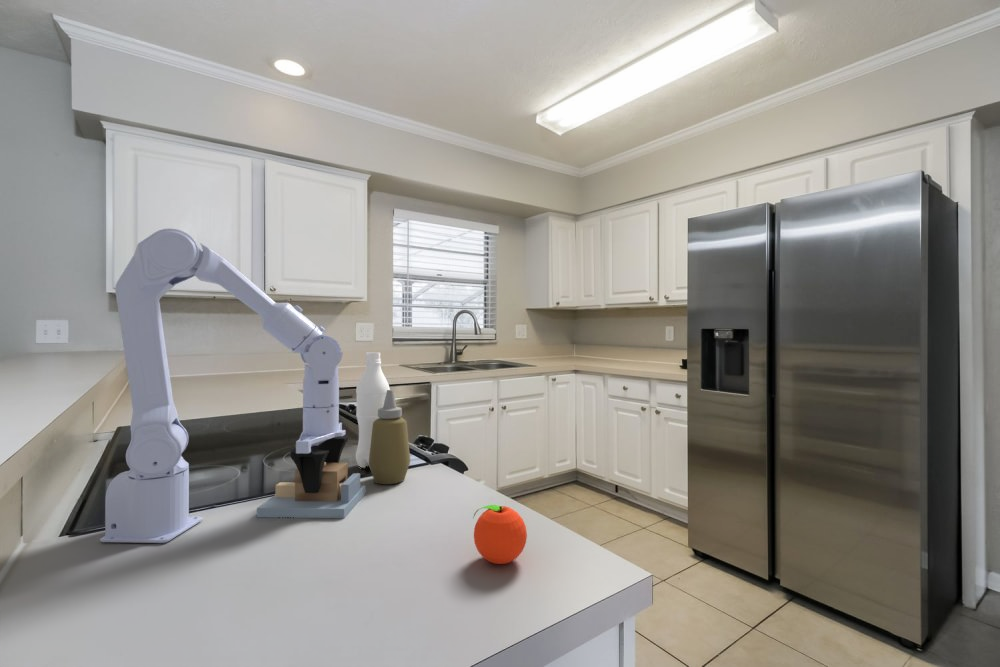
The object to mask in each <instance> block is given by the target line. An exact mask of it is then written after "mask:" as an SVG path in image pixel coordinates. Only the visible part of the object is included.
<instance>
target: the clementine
mask: <svg viewBox="0 0 1000 667" xmlns="http://www.w3.org/2000/svg"><path fill="white" fill-rule="evenodd" d="M481 509H482V510H483V509H486V510H485V511H484V512H482V514H481V515H480V516H479V517H478V519H477V520H476V522H475V524H474V528H473V529H474V531H473V539H474V545H475V548H476V550H477V551H478V553H479V554H480V555H481V557H482V558H483V559H485V560H486V561H488V562H489V563H492V564H495V565H506V564H508V563H511V562H513V561H514V560H516V559H518V557H519V556H520V555H521V554H522V553H523V552H524V549H525V546H526V543H527V539H528V534H527V526H526V524H525V522H524V520H523V517H521V515H520V514H519V513H518V511H516V510H514V509H513V508H511V507H509V506H505V505H496V504H488V505H485V506H482V507H480V508H478V509H476V511H475V512H474V514H473V518H472V519H474V518H475V516H476V514H477V513H478V512H479V511H480V510H481Z"/></svg>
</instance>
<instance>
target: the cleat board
mask: <svg viewBox="0 0 1000 667" xmlns="http://www.w3.org/2000/svg"><path fill="white" fill-rule="evenodd" d="M274 490H275V492H274V493H275V494H274V495H273V496H272V497H270V498H268V499H267V500H266V501H265V502H263V503H262V504H260V505H259V506H257V507H256V518H278V517H280V518H282V517H283V518H285V517H286V518H287V517H289V519H290V517H291V518H292V519H293V517H294V519H295V518H297V519H304V518H305V519H345V518H346V517H348V515H349V514H350V512H351V511H352V510H353V509H354V508H355V507H356V505H357V504H358V503H359V502H360V501H361V500H362V498H363V497H364V496H365V495H366V494H365V493H366V485H361V473H359V472H356V473H355V472H353V473H352V474H351V475H350V476H348V479H347V480H346V481H345V482H344V483H339V500H338V501H337V502H325V501H295V481H294V482H292V481H291V482H290V481H289V482H285V481H284V482H278V483H277V484H275V488H274ZM364 494H365V495H364ZM363 495H364V496H363ZM360 499H361V500H360ZM359 500H360V501H359ZM358 501H359V502H358ZM353 507H354V508H353ZM280 518H279V519H280ZM286 518H285V519H286Z"/></svg>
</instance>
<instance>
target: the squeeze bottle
mask: <svg viewBox="0 0 1000 667" xmlns="http://www.w3.org/2000/svg"><path fill="white" fill-rule="evenodd" d="M378 417H379V418H378V419H376V420H375V421H374V422H373V427H372V436H371V446H370V455H369V465H368V467H369V466H370V467H369V469H370V471H371V475H372V478H373V481H374V482H375V483H376V484H378V483H379V485H393V484H394V483H395V484H398V482H399V483H401V481H402V482H403V481H405V479H406V476H407V473H408V470H409V466H410V464H411V454H410V453H411V452H410V444H409V432H408V424H407V420H406V419H405V418H403V409H402V407H401V406H400V407H399V406H398V405H397V403H396V398H395V393H394V390H393V389H390V390H387V393H386V397H385V401H384V406H383V408H379V409H378Z"/></svg>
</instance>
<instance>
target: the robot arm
mask: <svg viewBox="0 0 1000 667" xmlns="http://www.w3.org/2000/svg"><path fill="white" fill-rule="evenodd" d="M200 246H201V248H202V250H201V248H200V247H199V245H198V243H197V241H196V240H195V239H194V238H193V236H192V235H190V234H188V233H187V232H185V231H183V230H181V229H177V228H163V229H159V230H157V231H155V232H153V233H152V234H150V235H149V236H147V237H146V238H144V239H143V240H141V241H140V242H139V243H137V245H136V247H135V250H134V254H133V256H132V257H131V259H130V261H129V262H128V264H127V265H126V266H125V268H124V270H123V272H122V274H121V275H120V276H119V278H118V279H117V281H116V284H115V289H114V290H115V292H114V293H115V298H116V304H117V305H116V306H117V312H118V317H119V318H118V319H119V324H120V332H121V339H122V345H123V351H124V358H125V359H124V360H125V365H126V372H127V379H128V384H129V385H128V386H129V393H130V399H131V406H132V416H131V422H130V437H131V438H130V443H129V445H128V447H127V449H126V451H125V452H126V453H125V461H126V465H127V466H128V468H129V470H126V471H123V472H120V473H118V474H117V475H116V476H115V477H113V479H112V480H111V481H110V483H109V485H108V487H107V489H106V492H105V506H104V507H105V512H104V513H105V518H104V519H105V523H104V524H105V526H104V527H105V529H104V530H105V532H104V533H105V535H104V536H103V537H101V538H100V541H99V542H101V543H139V544H141V543H144V544H145V543H146V544H147V543H149V544H150V543H152V544H153V543H154V544H164V543H168V542H169V541H171V540H174V539H175V538H176V537H178V536H179V535H181V534H183V533H184V532H186V531H187V530H189V529H191V528H192V527H194V526H196V525H197V524H199V523H200V522H201V521H203V517H202V516H189V515H190V511H189V510H190V509H189V507H190V504H189V503H190V501H189V499H190V498H189V497H190V496H189V494H190V485H189V484H190V468H189V465H190V464H189V462H187V461H186V460H185V459H184V457H183V456H182V454H183V453H184V452H185V451H186V449H187V446H188V444H189V433H188V431H187V429H186V428H185V427H184V426H183V425H182V423H181V421H180V420H179V414H178V413H179V412H178V410H177V408H176V405H175V402H174V396H173V388H172V381H171V374H170V368H169V361H168V360H169V359H168V355H167V346H166V340H165V334H164V326H163V319H162V318H163V317H162V310H161V303H160V299H161V298H162V297H163V296H165V295H166V294H167V293H168V292H170V290H171V289H173V288H174V287H175V286H176V285H178V284H180V283H182V282H185V281H187V280H189V279H191V278H193V277H196V278H197V279H198V281H201V282H205V283H211V284H216V285H218V286H220V287H222V288H223V289H224V290H226V291H227V292H229V293H230V294H231V295H233V296H234V297H235V298H237V300H239V301H240V302H241V303H242V304H244V305H246V306H247V307H249V308H250V309H251V310H252V311H253V312H255V313H257V314H258V315H259V316H260V317H261V320H262V323H261V324H262V329H263V330H264V331H266V333H267V334H269V335H270V336H272V338H274V339H276V341H278V342H279V343H280V344H282V345H283V346H285V347H286V348H287V349H289V351H291V352H292V353H293V354H299V353H300V358H301V360H302V362H303V363H305V364H304V378H303V379H302V432H300V435H299V439H298V440H296V441H295V448H294V449H292V450H290V453H289V454H290V458H291V460H292V462H294V465H295V466H296V468H297V470H298V471H299V473H300V477H301V480H302V484H303V488H304V491H305V493H318V492H319V489H320V485H321V477H322V470H323V466H324V462H326V463H340V460H341V459H340V458H341V456H342V453H343V450H344V448H345V446H346V444H347V443H348V442H347V441H348V435H346V429H343V426H342V425H343V422H339V421H340V418H339V417H340V416H339V415H340V412H339V410H340V408H339V407H340V403H339V402H340V379H339V364H340V363H341V361H342V358H343V351H342V349H341V347H340V344H339V342H338V341H337V340H336V339H334V338H333V337H331V336H330V335H326V334H323V333H324V332H325V330H326V329H325V327H323V326H322V325H319V326H317V324H315V323H314V322H312V321H311V319H309V318H308V317H306V316H305V315H303V313H302V312H303V308H301V306H299V305H298V304H297V305H294V306H293V305H292V304H290V303H289V302H276V301H275V300H274V299H272V298H271V297H270V296H268V294H266V293H265V292H263V291H262V290H261V288H259V287H258V286H257V285H256V284H255V283H253V282H252V281H251V280H250V279H249V278H248V277H246V276H245V275H244V274H243V273H242V272H240V270H238V269H237V268H236V267H235V266H233V265H232V264H231V262H229V261H228V260H227V259H225V258H224V257H223V256H221V255H219V253H217V252H216V251H214V250H212V249H211V248H209V247H208V246H206V245H205V244H203V243H200Z"/></svg>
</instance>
